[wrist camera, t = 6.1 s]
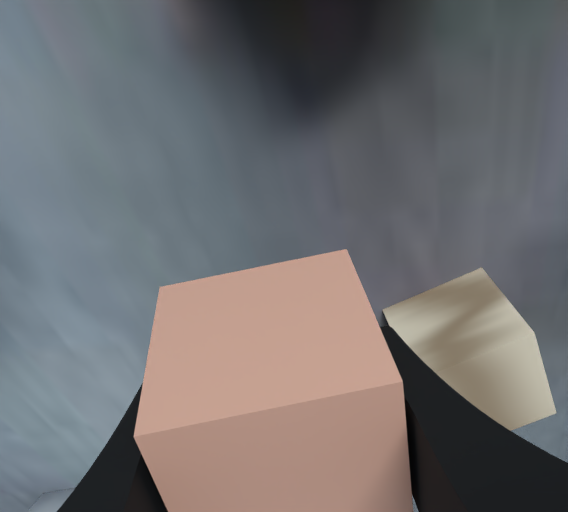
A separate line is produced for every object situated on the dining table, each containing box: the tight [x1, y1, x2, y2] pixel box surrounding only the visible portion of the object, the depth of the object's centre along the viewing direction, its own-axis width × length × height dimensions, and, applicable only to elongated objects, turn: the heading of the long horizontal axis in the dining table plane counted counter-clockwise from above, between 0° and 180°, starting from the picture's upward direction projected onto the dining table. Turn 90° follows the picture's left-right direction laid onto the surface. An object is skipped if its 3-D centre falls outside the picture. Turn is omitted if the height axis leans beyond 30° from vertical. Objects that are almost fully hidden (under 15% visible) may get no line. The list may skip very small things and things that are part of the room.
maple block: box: [383, 268, 556, 431], centre depth 24 cm, size 5×5×5 cm
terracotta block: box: [134, 249, 413, 512], centre depth 13 cm, size 5×5×5 cm
